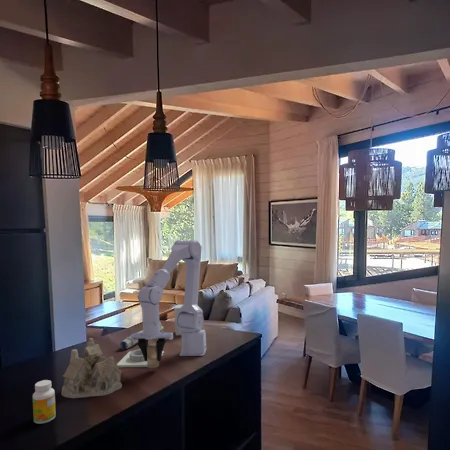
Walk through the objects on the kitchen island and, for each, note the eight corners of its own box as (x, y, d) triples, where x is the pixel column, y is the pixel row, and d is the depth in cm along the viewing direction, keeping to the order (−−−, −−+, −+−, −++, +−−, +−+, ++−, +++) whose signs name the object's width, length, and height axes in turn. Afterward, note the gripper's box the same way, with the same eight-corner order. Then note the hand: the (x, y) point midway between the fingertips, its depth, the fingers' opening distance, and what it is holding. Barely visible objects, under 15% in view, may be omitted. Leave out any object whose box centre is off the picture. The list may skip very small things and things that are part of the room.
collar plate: (163, 352, 148) (163, 345, 148) (154, 366, 134) (153, 359, 134) (129, 353, 149) (129, 346, 149) (116, 367, 135) (115, 359, 135)
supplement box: (193, 330, 177) (192, 303, 177) (191, 335, 169) (189, 307, 169) (178, 330, 178) (177, 304, 177) (175, 335, 170) (173, 307, 170)
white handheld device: (117, 340, 155) (155, 317, 177) (120, 355, 156) (157, 330, 177) (127, 341, 152) (164, 318, 174) (129, 357, 153) (166, 331, 175)
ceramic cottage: (55, 390, 118) (56, 343, 117) (103, 375, 130) (104, 332, 129) (78, 409, 107) (79, 357, 107) (128, 391, 119) (129, 344, 119)
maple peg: (160, 363, 132) (159, 343, 132) (157, 368, 128) (156, 347, 128) (149, 363, 132) (148, 343, 132) (145, 368, 128) (144, 347, 128)
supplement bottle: (29, 422, 99) (27, 386, 99) (45, 412, 104) (43, 377, 104) (44, 425, 98) (42, 388, 97) (60, 415, 103) (58, 379, 102)
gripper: (126, 324, 126) (128, 364, 127) (168, 323, 125) (170, 364, 125) (133, 319, 133) (135, 357, 134) (173, 318, 132) (175, 356, 132)
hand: (153, 360), depth 130 cm, fingers closed on maple peg, 4 cm apart
